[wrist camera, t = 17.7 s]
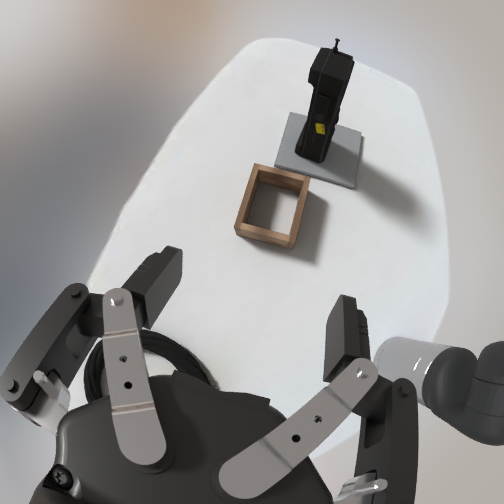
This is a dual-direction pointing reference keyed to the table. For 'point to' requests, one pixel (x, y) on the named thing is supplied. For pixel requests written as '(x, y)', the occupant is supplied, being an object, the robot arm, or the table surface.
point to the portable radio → (324, 102)
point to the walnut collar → (280, 180)
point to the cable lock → (150, 342)
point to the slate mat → (337, 159)
